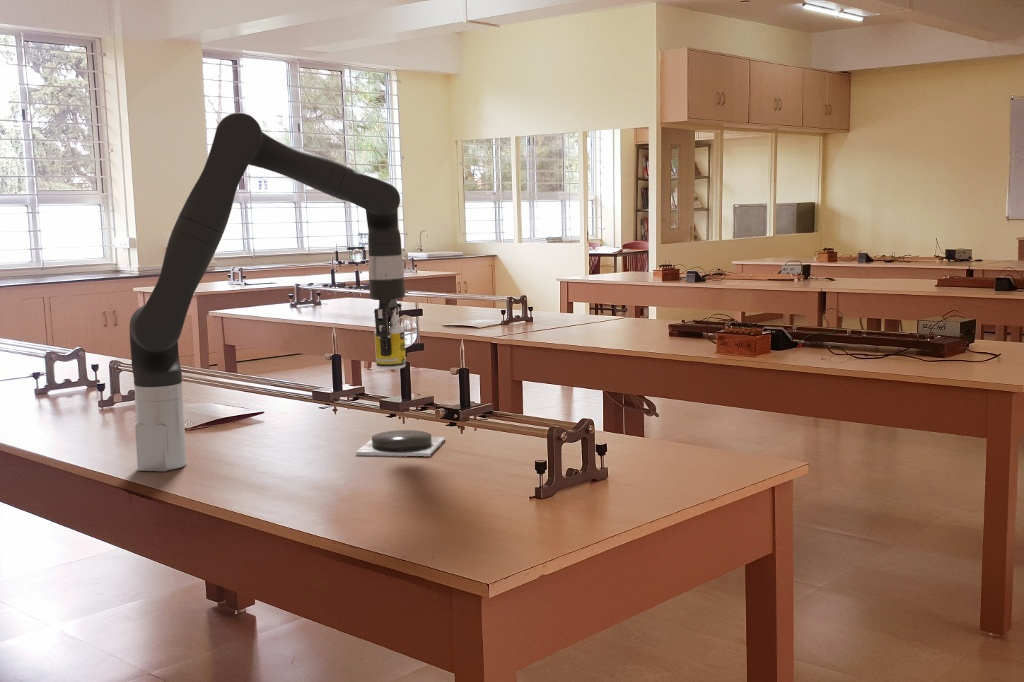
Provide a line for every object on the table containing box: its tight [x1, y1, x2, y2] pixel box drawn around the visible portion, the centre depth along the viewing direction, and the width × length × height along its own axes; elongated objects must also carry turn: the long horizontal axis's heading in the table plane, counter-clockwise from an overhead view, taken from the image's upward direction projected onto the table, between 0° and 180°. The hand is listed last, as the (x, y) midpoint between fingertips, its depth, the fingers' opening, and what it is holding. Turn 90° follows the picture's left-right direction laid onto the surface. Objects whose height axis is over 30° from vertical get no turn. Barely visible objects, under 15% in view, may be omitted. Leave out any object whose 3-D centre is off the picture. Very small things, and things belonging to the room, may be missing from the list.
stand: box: [355, 429, 446, 458], centre depth 219 cm, size 16×16×2 cm
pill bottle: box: [373, 314, 407, 370], centre depth 216 cm, size 6×6×12 cm
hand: (390, 353), depth 216 cm, fingers closed on pill bottle, 6 cm apart
